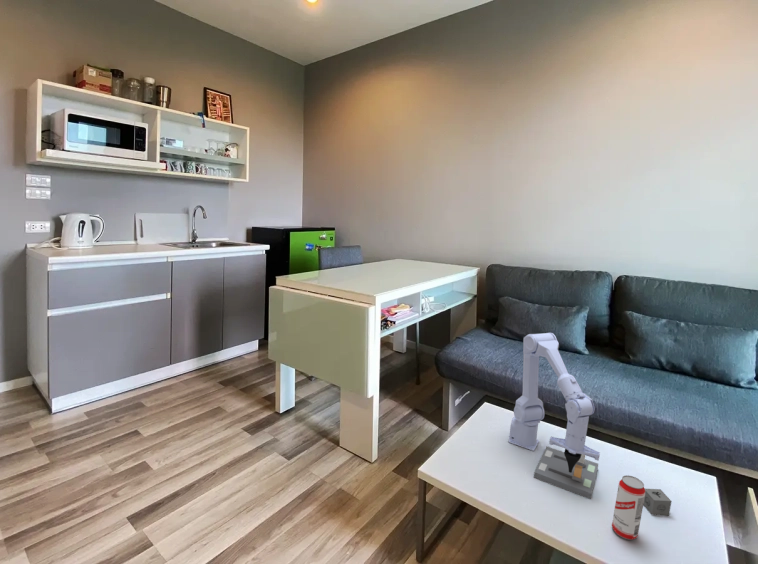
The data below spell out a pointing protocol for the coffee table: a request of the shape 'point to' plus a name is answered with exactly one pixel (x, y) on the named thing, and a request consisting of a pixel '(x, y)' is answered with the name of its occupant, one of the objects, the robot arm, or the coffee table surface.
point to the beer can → (628, 507)
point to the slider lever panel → (565, 473)
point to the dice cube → (657, 502)
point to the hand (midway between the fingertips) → (570, 470)
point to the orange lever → (577, 473)
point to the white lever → (582, 461)
